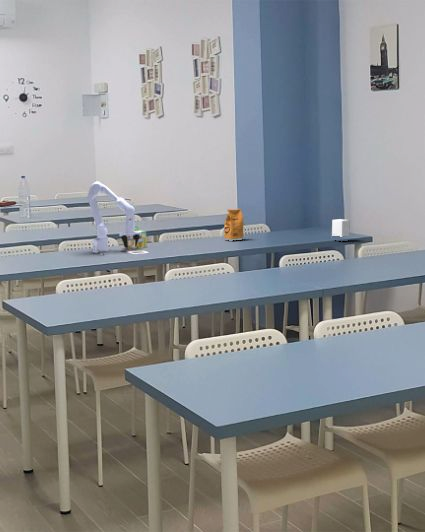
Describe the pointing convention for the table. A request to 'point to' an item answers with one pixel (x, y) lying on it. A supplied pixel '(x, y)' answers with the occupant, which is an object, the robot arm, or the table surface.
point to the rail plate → (129, 250)
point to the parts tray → (137, 251)
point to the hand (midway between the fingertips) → (130, 247)
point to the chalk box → (141, 240)
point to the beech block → (130, 244)
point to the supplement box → (340, 227)
